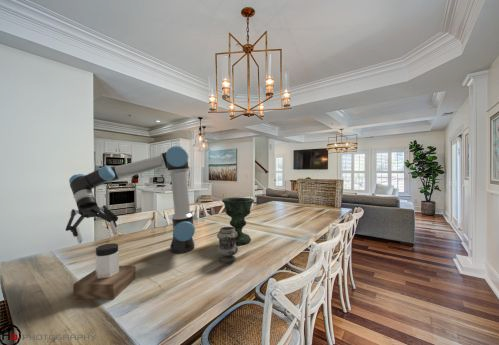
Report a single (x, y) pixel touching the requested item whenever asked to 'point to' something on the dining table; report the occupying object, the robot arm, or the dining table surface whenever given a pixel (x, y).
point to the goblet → (238, 216)
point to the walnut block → (103, 284)
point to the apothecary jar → (227, 244)
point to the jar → (107, 260)
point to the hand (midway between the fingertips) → (99, 237)
